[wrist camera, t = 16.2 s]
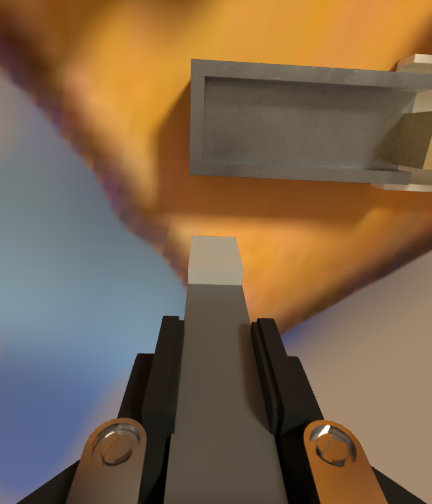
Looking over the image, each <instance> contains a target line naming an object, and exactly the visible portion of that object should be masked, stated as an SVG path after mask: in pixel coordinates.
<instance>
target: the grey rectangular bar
mask: <svg viewBox="0 0 432 504" xmlns="http://www.w3.org/2000/svg"><path fill="white" fill-rule="evenodd" d="M242 279H243V266H242V262H241V257H240V253H239V249H238V245H237V241H236V237H216V236H192V242H191V250H190V258H189V267H188V289H187V298H186V307H185V317H184V320H185V334H184V344H183V353H182V363H181V373H180V383H179V393H178V402H177V412H176V422H175V432H174V434H171V442H170V451H169V460H168V469H167V478H166V487H165V496H164V504H288V500H287V495H286V491H285V486H284V481H283V476H282V472H281V467H280V462H279V458H278V453H277V448H276V444H275V439H274V435H271V433H270V428H269V423H268V418H267V413H266V408H265V403H264V399H263V394H262V389H261V384H260V379H259V374H258V369H257V364H256V359H255V354H254V349H253V344H252V339H251V334H250V332H251V326H250V321H249V316H248V312H247V307H246V302H245V298H244V293H243V288H242Z"/></svg>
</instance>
